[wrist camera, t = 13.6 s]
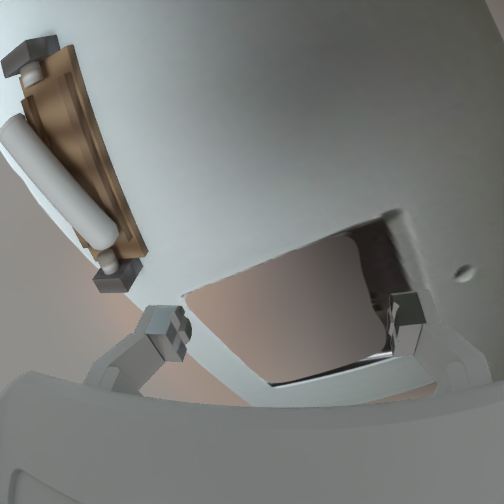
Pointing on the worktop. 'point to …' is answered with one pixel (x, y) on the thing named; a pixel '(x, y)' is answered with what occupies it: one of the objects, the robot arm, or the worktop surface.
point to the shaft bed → (77, 148)
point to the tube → (57, 183)
